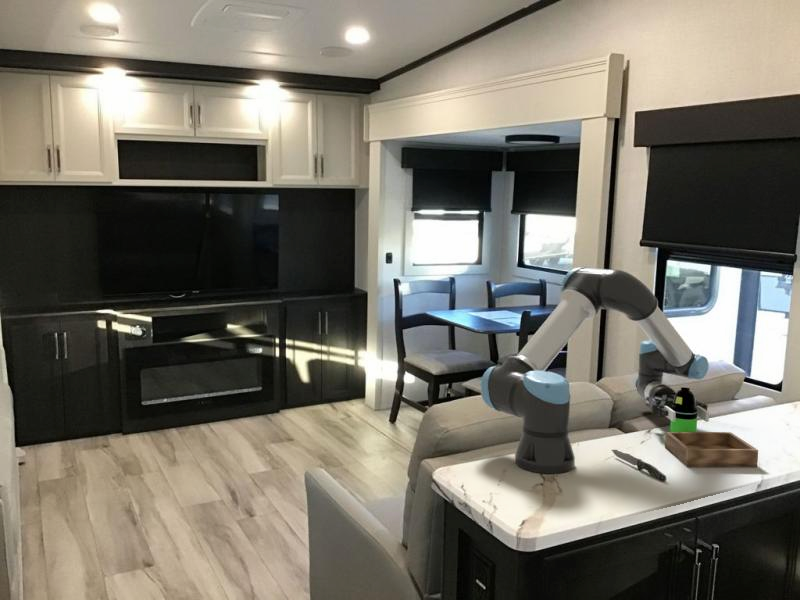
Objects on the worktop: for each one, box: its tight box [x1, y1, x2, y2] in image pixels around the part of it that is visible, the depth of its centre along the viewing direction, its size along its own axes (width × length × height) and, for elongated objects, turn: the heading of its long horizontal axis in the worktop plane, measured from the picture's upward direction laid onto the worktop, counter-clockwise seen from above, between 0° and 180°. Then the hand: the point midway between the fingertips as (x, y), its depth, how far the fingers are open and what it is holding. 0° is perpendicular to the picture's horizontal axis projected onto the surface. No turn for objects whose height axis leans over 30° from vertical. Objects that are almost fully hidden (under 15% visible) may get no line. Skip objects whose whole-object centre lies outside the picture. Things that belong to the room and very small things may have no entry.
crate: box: [664, 431, 759, 468], centre depth 185 cm, size 18×15×4 cm
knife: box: [611, 449, 667, 482], centre depth 177 cm, size 20×1×3 cm, turn 21°
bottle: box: [669, 386, 698, 432], centre depth 199 cm, size 7×7×15 cm
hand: (690, 416), depth 195 cm, fingers open, 9 cm apart
